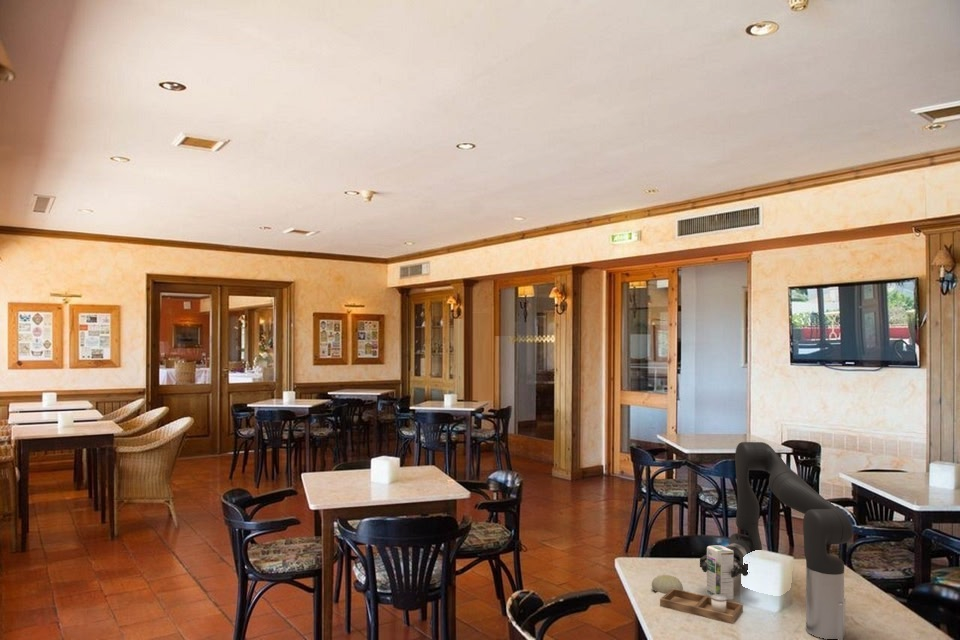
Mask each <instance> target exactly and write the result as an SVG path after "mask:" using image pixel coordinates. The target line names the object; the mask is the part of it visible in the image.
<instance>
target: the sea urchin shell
mask: <svg viewBox="0 0 960 640" xmlns="http://www.w3.org/2000/svg"><path fill="white" fill-rule="evenodd" d="M672 588H674V589H678V590H683V591H684V586H683V584H682V581H681V580H680V579H679V578H677V577H676V576H673V575H669V574H661V575H657V576H656V577H654V578H653V579H652V582H651V589H653V591H655V592H656V593H658V592H659V593H662V594H667V593H668V592H669V591H670V590H671V589H672Z"/></svg>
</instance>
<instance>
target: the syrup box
mask: <svg viewBox="0 0 960 640" xmlns="http://www.w3.org/2000/svg"><path fill="white" fill-rule="evenodd" d="M733 554H734V551H733V550H730V549H728V548H726V546H723V545H720V544H719V545H716V544H715V545H708V546H707V547H706V555H707V572H706V596H709V597H711V595H713V594H719V595H723V596H725V597H726V598H727V601H729V600H734V578H732V577H731V570H732V569H733V567H734V566H733V562H734V561H733V557H734V555H733Z"/></svg>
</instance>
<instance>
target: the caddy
mask: <svg viewBox="0 0 960 640" xmlns="http://www.w3.org/2000/svg"><path fill="white" fill-rule="evenodd" d="M711 599H712V598H711V596H709V595H705V594H700V593H696V592H691V591H686V590H684V589H683V590H678V589H674V588H672V589H671V590H670V591H669V592H668V593H664V595H663V596H661V598H660V599H659V607H662V608H666V609H671V610H674V611H678V612H681V613H686V614H691V615H694V616H699V617H703V618H705V619H706V618H707V619H711V620H715V621H719V622H723V623H727V624H731V625H734V624H735V622H736V621H737V620H738V619H739V617H740V616H741V614H742V613H743V611H744V604H742V603H739V602H735V601H731V600H726V614H725V613H721V612H717V611H712V610H711Z"/></svg>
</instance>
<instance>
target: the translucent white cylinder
mask: <svg viewBox="0 0 960 640" xmlns="http://www.w3.org/2000/svg"><path fill="white" fill-rule="evenodd" d="M710 597H711V598H712V599H711V610H712V611H717V612H721V613H725V614H726V600H727V598H726V597H725V596H723V595H719V594H713V595H711V596H710ZM727 601H728V600H727Z"/></svg>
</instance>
